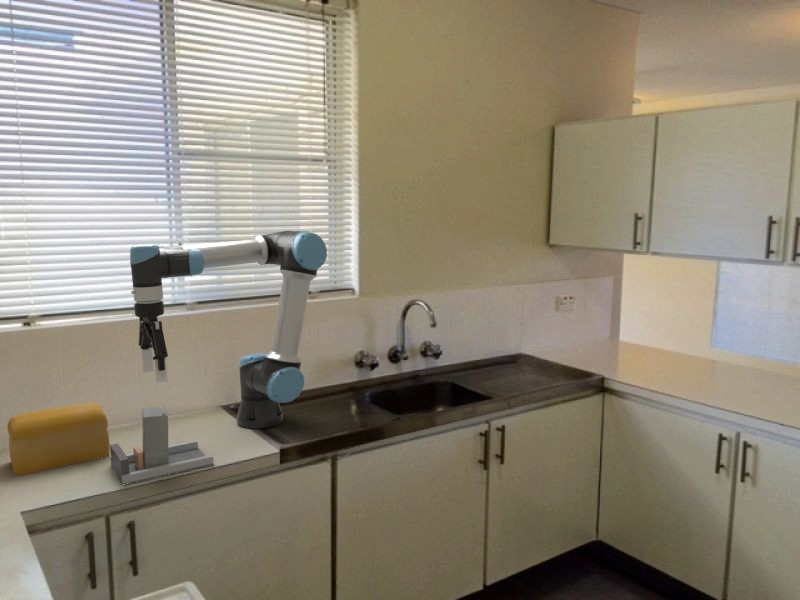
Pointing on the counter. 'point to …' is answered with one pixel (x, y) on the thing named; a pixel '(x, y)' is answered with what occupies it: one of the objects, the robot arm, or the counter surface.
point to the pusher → (138, 458)
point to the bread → (57, 437)
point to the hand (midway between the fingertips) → (154, 376)
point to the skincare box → (155, 436)
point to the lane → (178, 460)
